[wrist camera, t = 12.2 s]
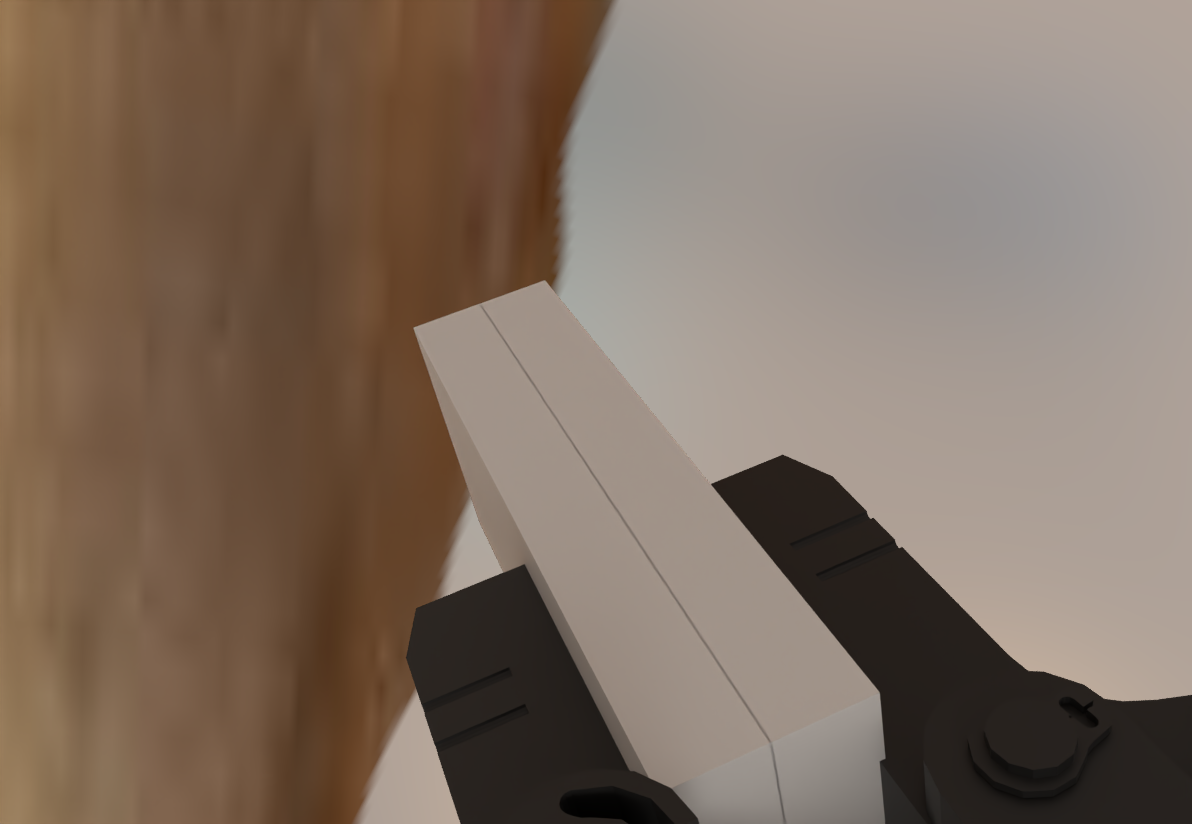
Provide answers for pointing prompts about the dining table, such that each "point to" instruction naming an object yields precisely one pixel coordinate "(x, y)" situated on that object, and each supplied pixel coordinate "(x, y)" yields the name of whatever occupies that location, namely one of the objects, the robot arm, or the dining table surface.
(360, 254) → the dining table surface
